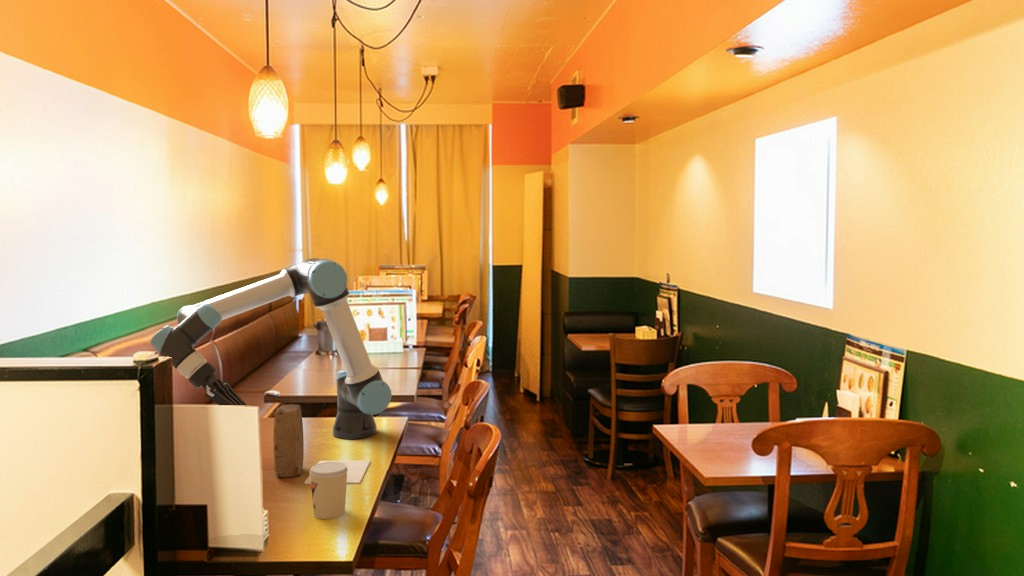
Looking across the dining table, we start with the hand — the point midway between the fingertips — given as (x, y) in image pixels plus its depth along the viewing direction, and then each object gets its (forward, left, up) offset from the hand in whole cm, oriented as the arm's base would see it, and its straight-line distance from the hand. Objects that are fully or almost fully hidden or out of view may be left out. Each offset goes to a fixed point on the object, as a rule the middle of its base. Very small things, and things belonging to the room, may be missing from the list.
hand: (257, 426), depth 223 cm
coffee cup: (+32, +27, -14) cm, 44 cm away
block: (0, +9, -14) cm, 17 cm away
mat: (0, +24, -14) cm, 27 cm away
